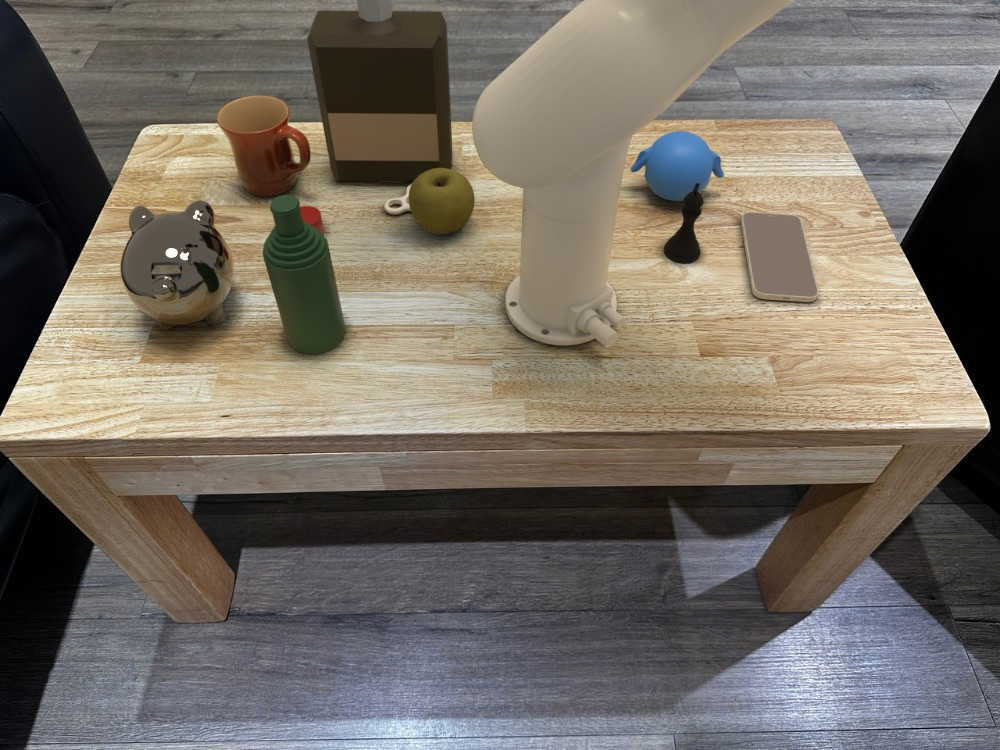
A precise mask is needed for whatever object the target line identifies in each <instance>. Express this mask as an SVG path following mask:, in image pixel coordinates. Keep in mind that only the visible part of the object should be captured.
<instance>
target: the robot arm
mask: <svg viewBox="0 0 1000 750" xmlns="http://www.w3.org/2000/svg"><path fill="white" fill-rule="evenodd" d="M794 1H795V0H583V1H581V2H580V3H578V4H577V5H576V6H575V7H574V8H573V9H571V11H569V12H568V13H567V14H565V16H563V17H562V18H561V19H560V20H558V21H557V22H556V23H555V24H554V25H552V27H550V29H548V31H546V32H545V33H544V34H543V35H542V36H541V37H540V38H539V39H537V40H536V41H535V42H534V43H533V44H532V45H530V46H529V47H528V49H526V50H525V51H524V52H523V53H522V54H521V55H519V56H518V58H516V59H515V60H514V61H513V62H512V63H511V64H510V65H509V66H507V67H506V68H505V69H504V70H503V71H502V72H501V73H500V74H499V75H498V76H497V77H496V78H494V79H493V80H492V81H491V82H490V83H489V84H488V85H487V86H486V87H485V88H484V89H483V91H482V92H481V94H480V96H479V98H478V99H477V100H476V101H477V102H476V103H475V107H474V110H473V113H472V114H473V115H472V121H471V124H472V125H471V128H472V129H471V131H472V132H471V133H472V139H473V145H474V148H475V151H476V153H477V155H478V157H479V159H480V161H481V163H482V164H483V166H484V167H485V168H486V169H487V170H488V172H489V173H491V174H492V176H494V177H495V178H497V179H498V180H500V181H502V182H503V183H505V184H508V185H510V186H513V187H516V188H519V189H522V200H521V201H522V202H521V233H520V257H519V258H520V261H519V274H518V275H517V276H515V278H514V279H513V280H512V281H511V282H510V284H509V285H508V288H507V290H506V292H505V299H504V300H505V301H504V302H505V312H506V315H507V318H508V319H509V321H510V323H511V324H512V325H513V326H514V327H515V329H516V330H518V331H519V332H520V333H521V334H523V335H525V337H528V338H530V339H532V340H533V341H537V342H539V343H543V344H547V345H553V346H577V345H581V344H585V343H588V342H591V341H593V340H596V341H597V342H599V343H600V344H601V345H602V346H604V347H605V348H606V349H610V348H612V347H613V346H614V345H615V344H616V343H617V342H618V339H619V337H620V336H619V333H618V332H617V331H616V330H615V329H617V330H619V329H621V328H623V327H624V325H625V324H626V321H627V319H626V318H625V317H624V316H623V315H621V313H619V312H618V311H617V309H618V299H617V294H616V293H615V290H614V288H613V287H612V286H611V284H610V283H609V281H608V275H609V268H610V262H611V255H612V248H613V241H614V235H615V227H616V220H617V215H618V214H617V213H618V208H619V207H618V206H619V202H620V196H621V189H622V183H623V182H622V181H623V176H624V171H625V165H626V160H627V157H628V152H629V148H630V145H631V141H632V137H633V136H635V135H636V134H637V133H638V132H640V131H641V130H643V129H644V128H645V127H647V126H648V125H649V124H651V123H652V122H654V120H656V119H657V118H658V117H659V116H660V115H662V114H663V113H664V112H665V111H666V110H667V109H669V107H670V106H671V105H672V104H673V103H674V102H675V101H676V100H678V99H679V97H680V96H681V95H683V94H684V92H685V91H687V90H688V88H690V87H691V85H693V84H694V83H695V82H696V81H697V80H698V78H699V77H701V75H702V74H703V73H704V72H705V71H706V70H707V69H708V68H709V67H710V66H711V65H712V64H713V62H714V61H716V59H717V58H719V57H720V56H721V55H722V54H723V53H724V52H725V51H727V50H728V49H729V48H730V47H732V46H733V45H734V44H735V43H737V42H738V41H740V40H741V39H743V38H744V37H745V36H747V35H748V34H749V33H751V32H752V31H754V30H756V29H757V28H758V27H760V26H761V25H763V24H764V23H766V22H767V21H769V20H770V19H772V18H773V17H774V16H775V15H777V14H778V13H779V12H780V11H782V10H784V9H785V8H786V7H787V6H789V5H790V4H791V3H793V2H794ZM611 326H613V327H614V328H615V329H613V328H612V327H611Z"/></svg>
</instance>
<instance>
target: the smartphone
mask: <svg viewBox="0 0 1000 750" xmlns="http://www.w3.org/2000/svg"><path fill="white" fill-rule="evenodd" d="M740 226H741V231H742V239H743V245H744V251H745V257H746V263H747V269H748V275H749V282H750V288H751V292H752V295H753V296H754V297H756V298H757V299H760V300H761V299H762V300H772V301H784V302H785V301H786V302H801V303H812V302H815V301H816V300H817V298H818V295H819V288H818V285H817V280H816V275H815V272H814V268H813V263H812V259H811V254H810V252H809V251H810V250H809V247H808V243H807V239H806V234H805V230H804V226H803V222H802V219H801V218H800V217H799V216H797V215H795V214H789V213H787V214H786V213H771V212H755V211H747V212H746V211H745V212H744V213H742V215H741V218H740Z"/></svg>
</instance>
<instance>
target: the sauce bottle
mask: <svg viewBox="0 0 1000 750" xmlns="http://www.w3.org/2000/svg"><path fill="white" fill-rule="evenodd" d="M269 206H270V207H269V210H270V212H271V214H272V218H273V222H274V226H273V228H272V230H271V231H270V233H269V234H268V236H267V237H266V238H265V240H264V243H263V248H262V259H263V261H264V265H265V268H266V272H267V275H268V279H269V282H270V285H271V288H272V289H271V290H272V293H273V297H274V299H275V302H276V306H277V309H278V313H279V317H280V320H281V323H282V327H283V330H284V334H285V338H286V341H287V343H288V345H289V346H290V347H291V348H292V349H293V350H294V351H297V352H298V353H300V354H304V355H320V354H324V353H328V352H330V351H332V350H333V349H335V348H336V347H338V346H339V345H340V344H341V342H342V341H343V340H344V338H345V336H346V325H345V319H344V315H343V310H342V304H341V300H340V295H339V289H338V285H337V281H336V280H337V279H336V276H335V275H336V274H335V270H334V265H333V260H332V254H331V251H330V246H329V241H328V240H327V238H326V237H325V236H324V234H322V233H321V232H320V231H319V230H318V229H316V228H314V227H313V226H311V225H310V224H308V223H307V222H305V221H304V220H303V219H302V214H301V210H300V207H301V202H300V200H299V198H297V196H294V195H291V194H282V195H281V194H280V195H277V196H276V197H274V198H273V199H272V200H271V202H270V205H269Z"/></svg>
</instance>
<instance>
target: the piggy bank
mask: <svg viewBox="0 0 1000 750" xmlns="http://www.w3.org/2000/svg"><path fill="white" fill-rule="evenodd" d="M215 221H216V214H215V212H214V209H213V207H212V206H211V204H209V203H208V202H207V201H205V200H202V199H199V200H195V201H192V202H191V203H190V204H189V205H188V206H187V207H186V208H185V209H184V210H183V211H168V212H163V213H159V214H154V213H153V212H152V211H151V210H150V209H149V208H148V207H147V206H145V205H137V206H135V207H134V208H133V209H132V210H131V211H130V214H129V218H128V227H129V229H130V233H131V234H130V236H129V238H128V240H127V242H126V244H125V246H124V248H123V251H122V254H121V258H120V263H119V264H120V265H119V275H120V279H121V280H120V281H121V284H122V288H123V289H124V291H125V293H126V295H127V296H128V298H129V299H130V301H131V302H132V303H133V305H134V306H136V308H138V309H139V310H140V311H141V312H142V313H144V314H145V315H147V316H149V317H150V318H152V319H154V320H156V321H157V324H158V326H159V327H160V328H161V329H163V330H170V329H173V328H174V327H175V326H176V325H188V324H194V323H197V322H200V321H201V320H204V319H206V321H207V322H208V324H209V323H210V324H211V325H218V324H221V323H222V322H223V321H224V320H225V311H224V307H223V303H224V302H225V300H226V299H227V297H228V296H229V293H230V291H231V288H232V286H233V285H232V284H233V281H234V259H233V255H232V251H231V248H230V246H229V244H228V242H227V240H226V239H225V237H224V236H223V234H222V233H221V232H220V231H219V230H218V228H216V226H215V223H216V222H215Z"/></svg>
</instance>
